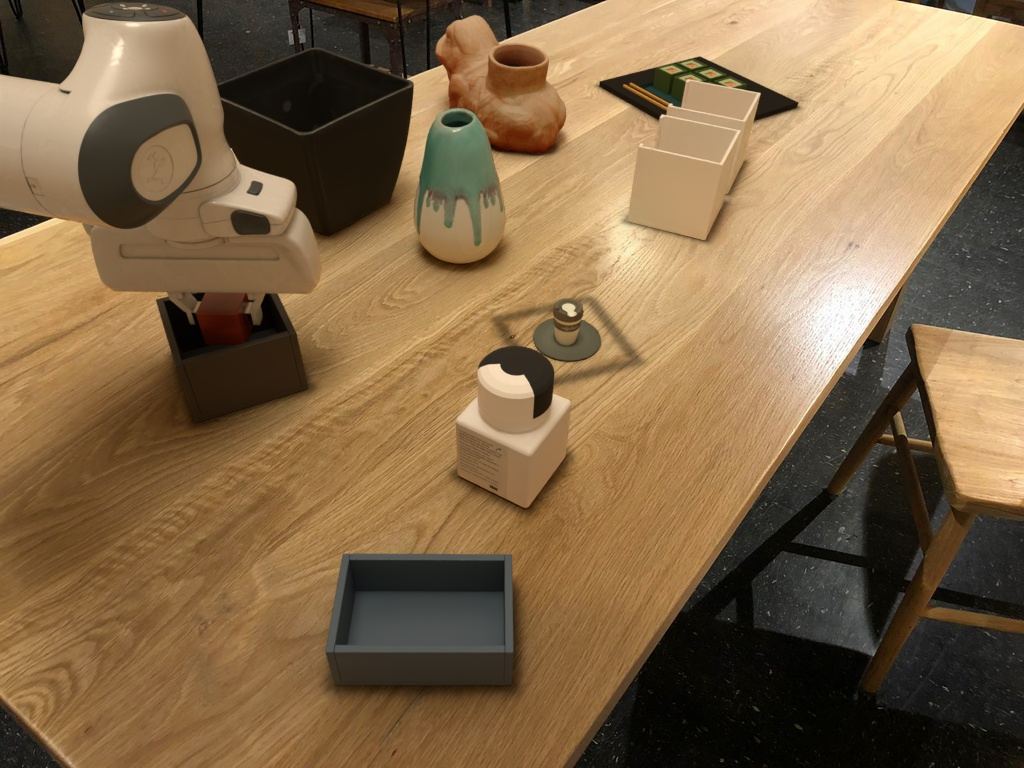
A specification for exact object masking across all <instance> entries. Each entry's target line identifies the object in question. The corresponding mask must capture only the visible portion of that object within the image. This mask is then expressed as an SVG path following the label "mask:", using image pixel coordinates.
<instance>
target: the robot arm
mask: <svg viewBox="0 0 1024 768" xmlns="http://www.w3.org/2000/svg"><path fill="white" fill-rule="evenodd" d="M81 18H82V19H81V20H82V22H81V23H82V30H83V37H84V42H83V45H82V48H81V52H80V54H79V57H78V59H77V61H76V63H75V65H74V67H73V69H72V70H71V72H70V73H69V74H68V76H67V77H66V78H65V79H64V80H63V81H61V83H55V82H49V81H41V80H36V79H31V78H30V79H29V78H24V77H23V78H22V77H17V76H11V75H6V74H2V73H0V210H7V211H16V212H21V213H25V214H26V213H27V214H31V215H37V216H42V217H46V218H52V219H57V220H61V221H68V222H75V223H80V224H81V225H82V227H83V229H84V231H85V233H86V234H87V235H88V236H89V238H90V247H91V251H92V256H93V261H94V263H95V267H96V271H97V273H98V276H99V279H100V281H101V283H102V284H103V285H104V286H106V287H107V288H108V289H109V290H111V291H113V292H119V293H120V292H121V293H122V292H124V293H128V292H130V293H167V297H169V299H170V300H171V301H172V302H173V303H175V304H176V305H177V306H178V307H179V308H180V309H182V310H183V311H184V312H186V313H187V316H188V319H189V322H190V324H196V325H199V322H198V319H197V316H196V312H197V310H198V308H199V305H200V303H201V301H197V300H196V299H195V298H194V297H193V296H192V294H191V293H190V292H195V293H247V296H248V299H249V300H254V301H253V302H246V303H245V305H244V308H243V310H242V317H243V319H244V324H245V325H260V323H261V321H262V315H263V314H262V310H261V306H260V305H261V303H262V301H263V299H264V296H265V293H274V294H278V295H279V294H283V295H286V294H287V295H309V294H311V293H313V291H314V290H316V288H317V286H318V285H319V283H320V279H321V276H322V271H323V269H322V268H323V265H322V260H321V253H320V249H319V246H318V243H317V239H316V237H315V233H314V230H313V229H312V227H311V225H310V222H309V220H308V219H307V217H306V216H305V215H304V213H303V212H302V211H300V210H299V209H297V208H296V207H295V206H296V201H297V190H296V186H295V184H294V183H293V182H291V181H290V180H287V179H284V178H281V177H277V176H274V175H270V174H267V173H264V172H261V171H258V170H255V169H252V168H249V167H246V166H244V165H241V164H240V163H239V162H236V161H237V160H236V156H235V154H234V153H233V151H232V149H231V147H230V145H229V143H228V141H227V140H226V138H225V136H224V130H223V124H224V112H223V107H222V103H221V99H220V95H219V91H218V88H217V84H218V83H217V81H216V77H215V73H214V71H213V67H212V64H211V61H210V59H209V56H208V53H207V50H206V47H205V45H204V43H203V40H202V38H201V35H200V34H199V31H198V29H197V28H196V26H195V24H194V23H193V21H192V19H191V18H190V17H189V16H188V15H187V14H186V13H184V12H182V11H180V10H178V9H177V8H175V7H171V6H168V5H163V4H156V3H148V2H126V1H117V2H107V3H101V4H97V5H94V6H92V7H91V8H88V9H87V10H85V11H84V12H83V13H82V17H81Z"/></svg>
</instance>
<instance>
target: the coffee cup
mask: <svg viewBox="0 0 1024 768" xmlns="http://www.w3.org/2000/svg"><path fill="white" fill-rule="evenodd" d="M584 313H585V311H584V306H583V304H582V303H581V302H580V301H579V300H577V299H574V298H572V297H571V298H570V297H566V298H561V299H558V300H557V301H555V303H554V305H553V309H552V315H553V317H551V318H549V319H546V320H544V321H542V322H541V323H540V324H538V325H537V326H536V328H535V329H534V331H533V334H532V338H533V339H532V340H533V343H534V345H535V346H536V348H537V349H538V351H539V352H540V353H541V354H543V355H544V356H545V357H547V358H551V359H554V360H558V361H564V362H574V361H581V360H585V359H587V358H590V357H591V356H593V355H594V354H596V353H597V352H598V350H599V349H600V347H601V343H602V337H601V334H600V332H599V331H598V329H597V328H596V327H595V326H594V325H593V324H591V323H589V322H588V321H586V320H584V319H583V316H584Z"/></svg>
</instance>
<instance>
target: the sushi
mask: <svg viewBox="0 0 1024 768" xmlns="http://www.w3.org/2000/svg"><path fill="white" fill-rule="evenodd" d="M688 79H689V80H694V81H699V82H705V83H710V84H715V85H720V86H726V87H731V88H736V89H741V90H747V91H752V92H757V93H761V94H760V98H759V102H758V106H757V110H756V114H755V118H754V122H755V121H757V120H761V119H764V118H768V117H770V116H775V115H777V114H780V113H783V112H787V111H790V110H793V109H796V108H798V106H799V101H797V100H795V99H792V98H790V97H788V96H786V95H785V94H782V93H780V92H777V91H775V90H773V89H771V88H769V87H766V86H764V85H763V84H760V83H758V82H756V81H755V80H752V79H750V78H748V77H746V76H744V75H741V74H738V72H735V71H732V70H731V69H728V68H727V67H724V66H721V65H720V64H717V63H715V62H713V61H711V60H709V59H707V58H704V57H703V56H700V55H699V56H695V57H691V58H688V59H683V60H679V61H676V62H671V63H668V64H663V65H660V66H654V67H651V68H647V69H643V70H639V71H635V72H631V73H627V74H622V75H619V76H616V77H615V76H614V77H611V78H608V79H604V80H600V81H599V85H598V87H599V88H602V89H603V90H605V91H607V92H608V93H610V94H612V95H614V96H616V97H617V98H619V99H621V100H623V101H624V102H626V103H628V104H630V105H631V106H633V107H635V108H637V109H639V110H640V111H642V112H644V113H646V114H647V115H649V116H651V117H653V118H655V120H657V121H659V119H660V116H661V115H667V109H668V105H669V104H670V103H671V104H673V105H672V106H675V107H680V108H681V106H682V100H683V95H684V89H685V84H686V81H687V80H688Z"/></svg>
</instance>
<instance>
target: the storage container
mask: <svg viewBox="0 0 1024 768" xmlns="http://www.w3.org/2000/svg"><path fill="white" fill-rule="evenodd" d="M760 94H761V93H757V92H752V91H747V90H741V89H736V88H731V87H726V86H720V85H715V84H710V83H705V82H699V81H694V80H689V79H688V80H687V81H686V84H685V89H684V95H683V100H682V106H681V108H680V107H675V106H672V105H673V104H671V103H670V104H669V105H668V109H667V115H661V116H660V119H659V120H658V126H657V131H656V138H655V144H654V148H653V147H649V146H644V143H642V142H640V143H639V145H638V146H637V153H636V159H635V165H634V172H633V179H632V185H631V193H630V198H629V199H630V200H629V207H628V213H627V219H626V222H628V223H633V224H637V225H641V226H645V227H649V228H652V229H656V230H661V231H665V232H670V233H673V234H678V235H680V236H681V235H682V236H686V237H689V238H694V239H697V240H702V241H706V239H707V237H708V235H709V233H710V231H711V230H712V227H713V225H714V224H715V221H716V219H717V217H718V215H719V213H720V211H721V209H722V207H723V205H724V202H725V197H726V194H727V195H728V194H729V193H730V191H731V189H732V187H733V184H734V182H735V180H736V178H737V176H738V174H739V172H740V170H741V168H742V166H743V164H744V161H745V157H746V153H747V149H748V145H749V141H750V138H751V134H752V131H753V125H754V122H755V121H754V118H755V114H756V110H757V106H758V102H759V98H760Z"/></svg>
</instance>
